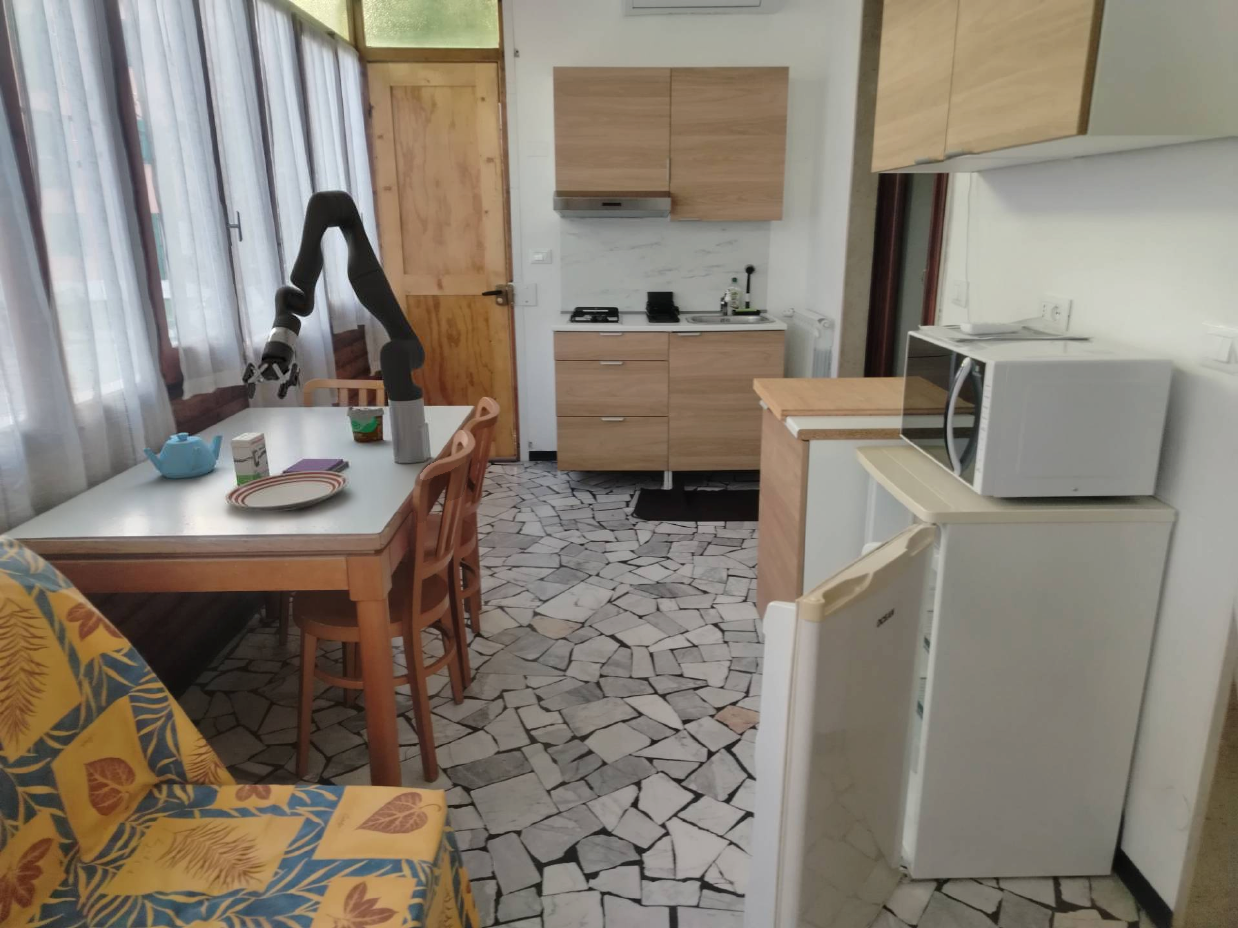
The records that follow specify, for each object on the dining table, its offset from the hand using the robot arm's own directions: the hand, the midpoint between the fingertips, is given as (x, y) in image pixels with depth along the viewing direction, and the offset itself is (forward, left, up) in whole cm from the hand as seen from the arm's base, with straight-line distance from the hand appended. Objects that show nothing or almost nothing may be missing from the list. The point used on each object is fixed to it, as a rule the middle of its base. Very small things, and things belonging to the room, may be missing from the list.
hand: (264, 397), depth 220 cm
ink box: (0, +11, -20) cm, 23 cm away
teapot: (+22, +4, -20) cm, 30 cm away
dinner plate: (-17, +26, -20) cm, 37 cm away
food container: (-13, -30, -20) cm, 38 cm away
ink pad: (-13, +4, -19) cm, 24 cm away
